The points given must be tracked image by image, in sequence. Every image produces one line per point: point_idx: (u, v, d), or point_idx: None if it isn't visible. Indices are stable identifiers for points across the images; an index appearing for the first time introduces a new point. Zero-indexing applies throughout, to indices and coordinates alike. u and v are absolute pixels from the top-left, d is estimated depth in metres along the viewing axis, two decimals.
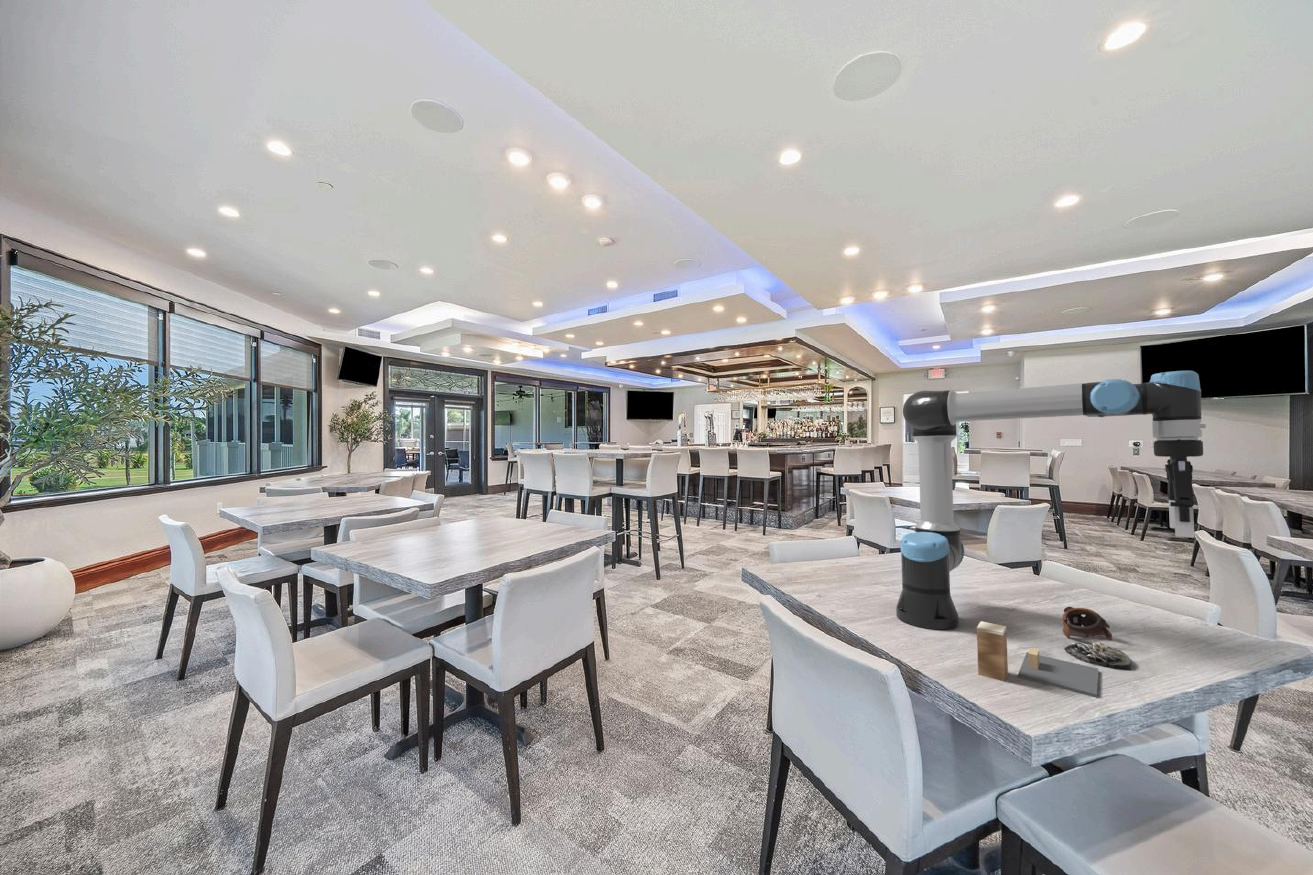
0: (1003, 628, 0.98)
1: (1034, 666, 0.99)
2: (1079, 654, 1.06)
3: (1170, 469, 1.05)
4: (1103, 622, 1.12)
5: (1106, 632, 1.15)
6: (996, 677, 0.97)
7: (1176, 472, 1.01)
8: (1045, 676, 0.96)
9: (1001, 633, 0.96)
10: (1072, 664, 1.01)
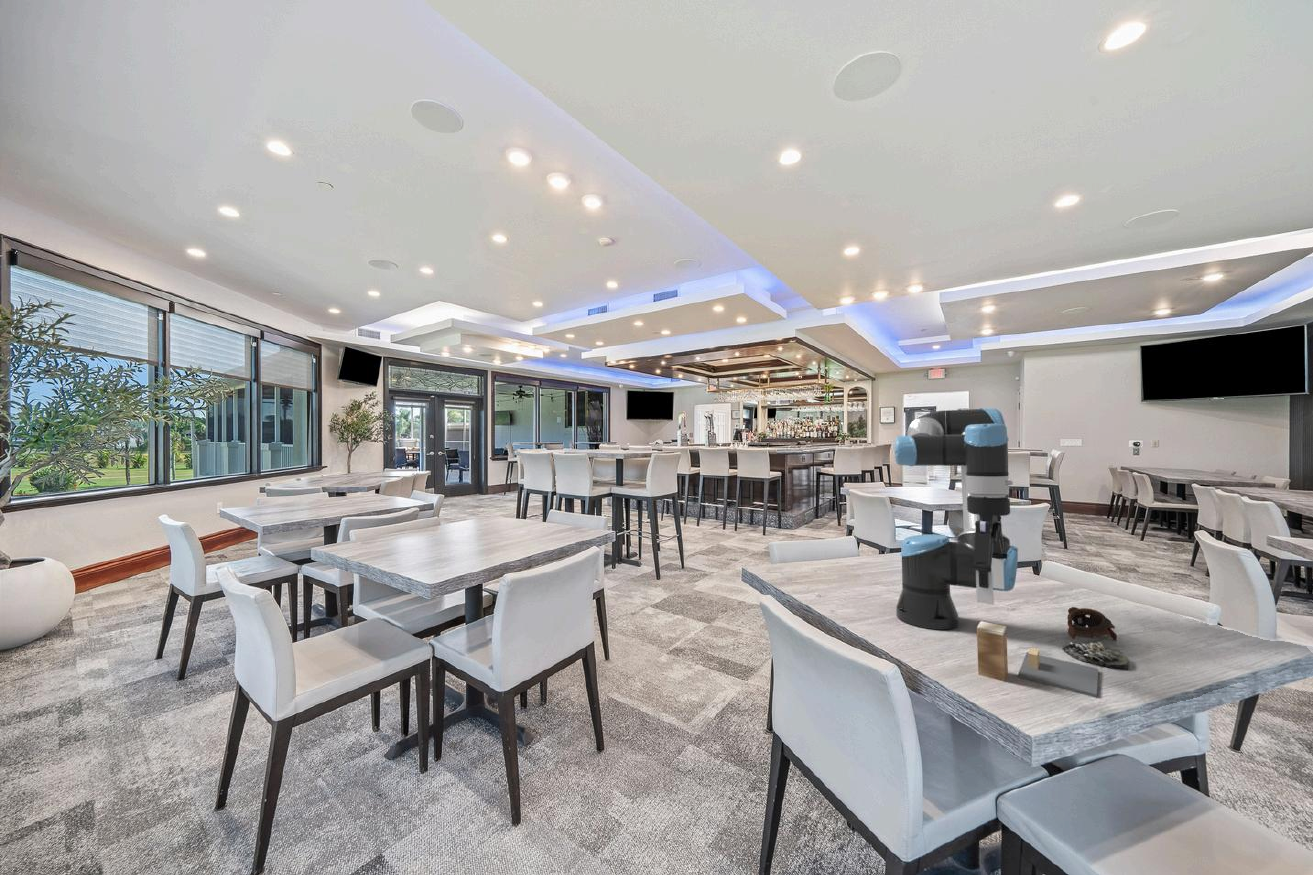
0: (1003, 628, 0.98)
1: (1034, 666, 0.99)
2: (1076, 654, 1.06)
3: None
4: (1108, 623, 1.12)
5: (1111, 633, 1.15)
6: (996, 677, 0.97)
7: (977, 533, 0.95)
8: (1045, 676, 0.96)
9: (1001, 633, 0.96)
10: (1072, 664, 1.01)
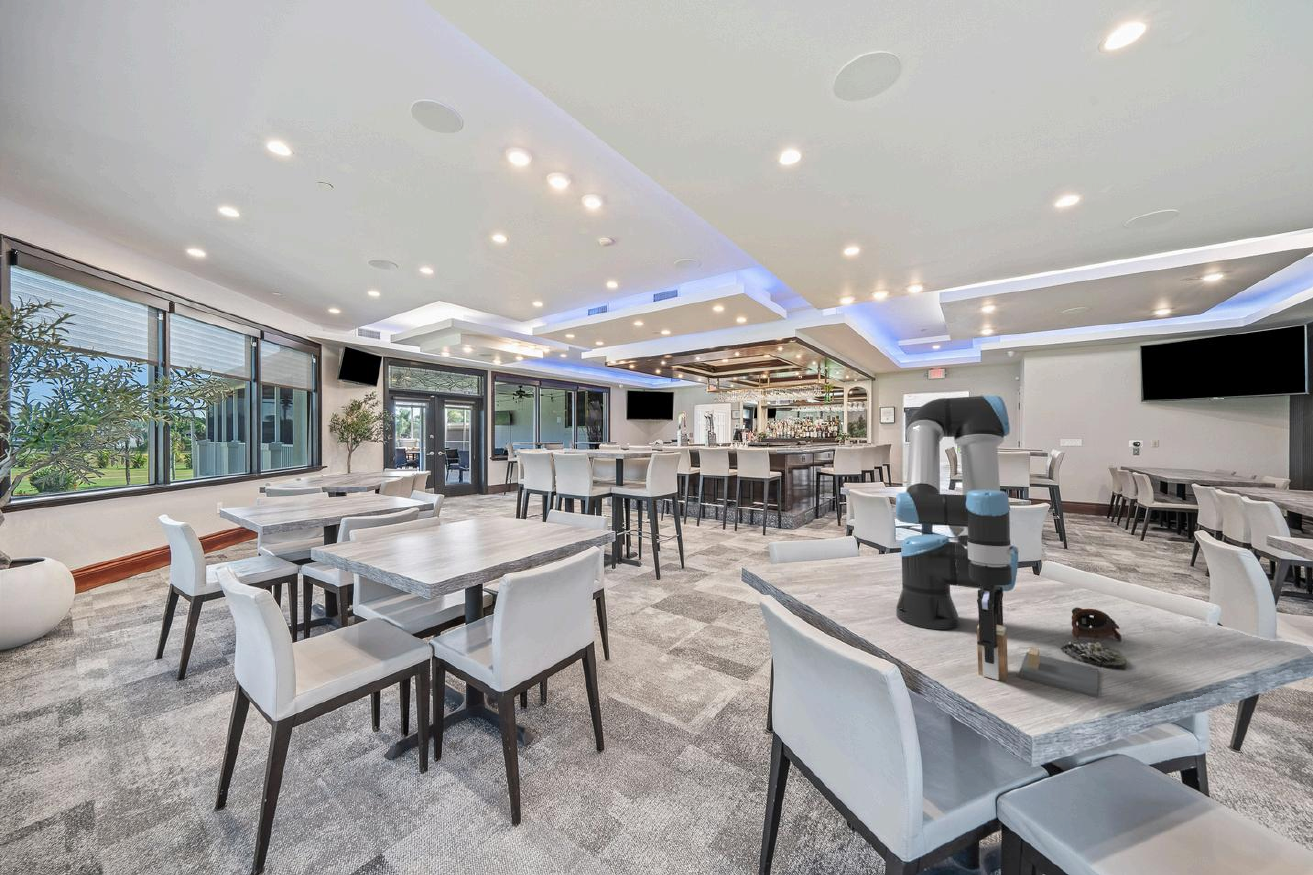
0: (1003, 628, 0.98)
1: (1034, 666, 0.99)
2: (1074, 653, 1.06)
3: (980, 598, 0.99)
4: (1113, 623, 1.12)
5: (1115, 633, 1.14)
6: None
7: (980, 610, 0.95)
8: (1045, 676, 0.96)
9: (1001, 633, 0.96)
10: (1072, 664, 1.01)
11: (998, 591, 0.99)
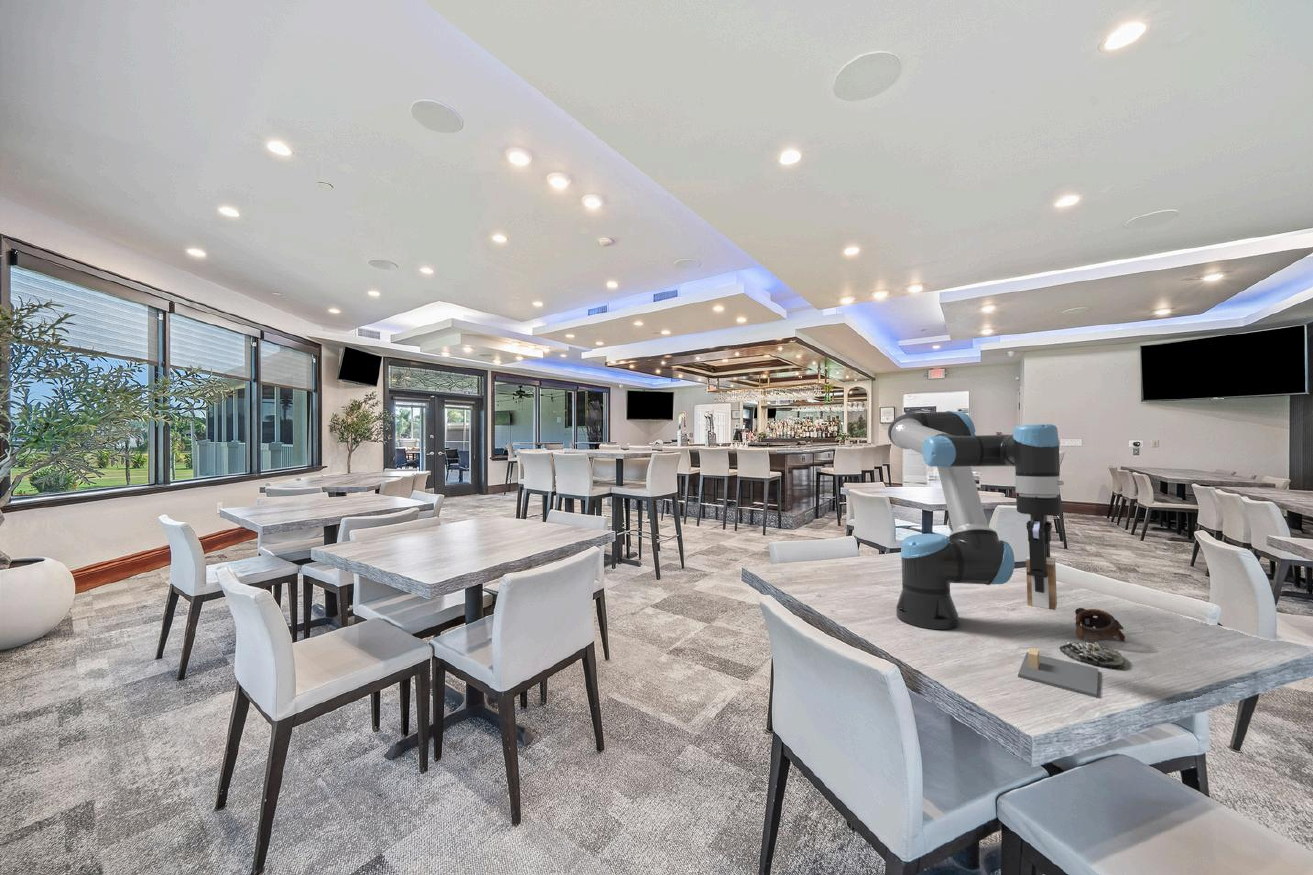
0: (1052, 559, 0.99)
1: (1034, 666, 0.99)
2: (1072, 653, 1.06)
3: None
4: (1117, 623, 1.11)
5: (1119, 633, 1.14)
6: None
7: (1030, 540, 0.97)
8: (1045, 676, 0.96)
9: (1051, 563, 0.97)
10: (1072, 664, 1.01)
11: (1047, 523, 1.00)
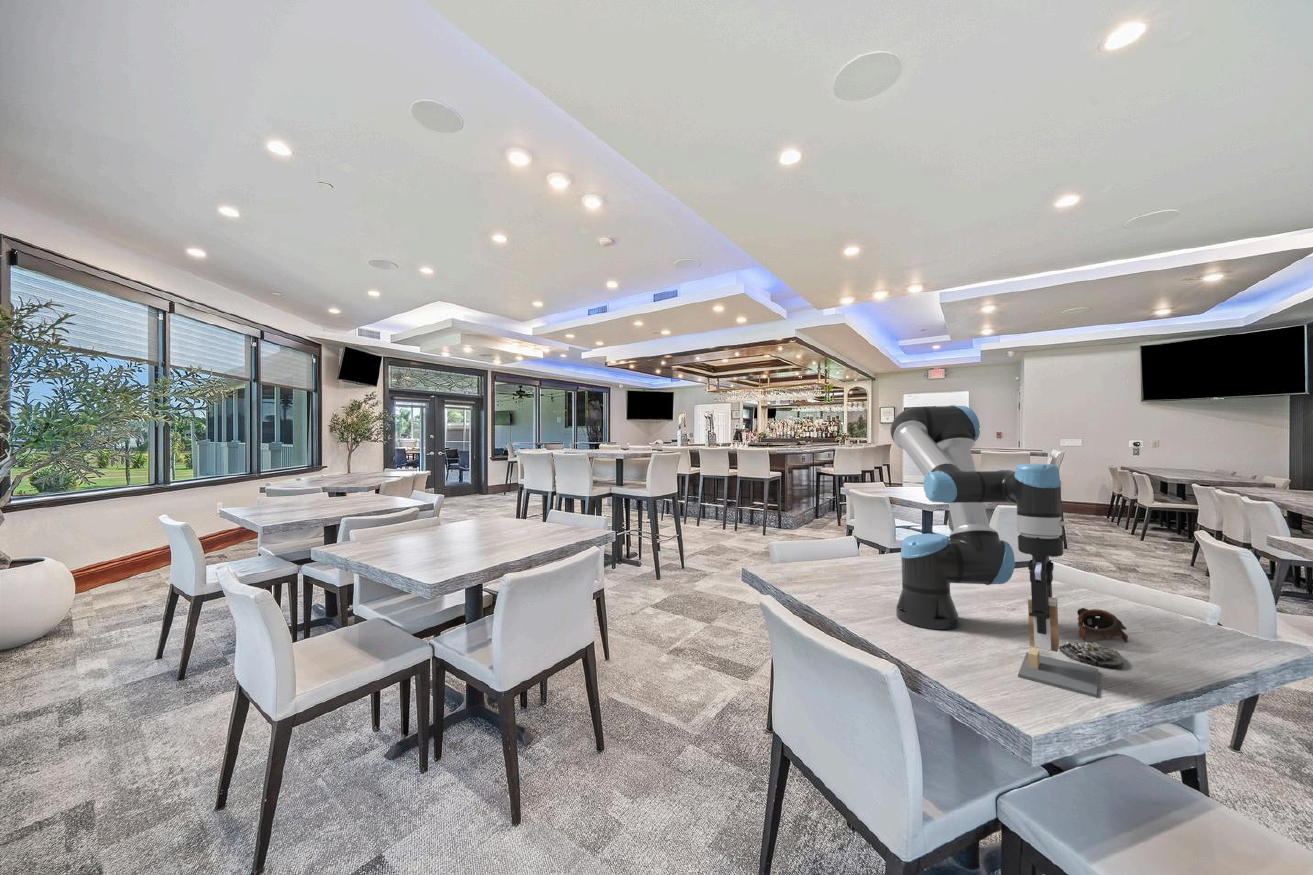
0: (1054, 600, 0.99)
1: (1034, 666, 0.99)
2: (1071, 653, 1.06)
3: None
4: (1120, 624, 1.11)
5: (1121, 634, 1.14)
6: None
7: (1032, 581, 0.97)
8: (1045, 676, 0.96)
9: (1054, 604, 0.97)
10: (1072, 664, 1.01)
11: (1049, 563, 1.00)
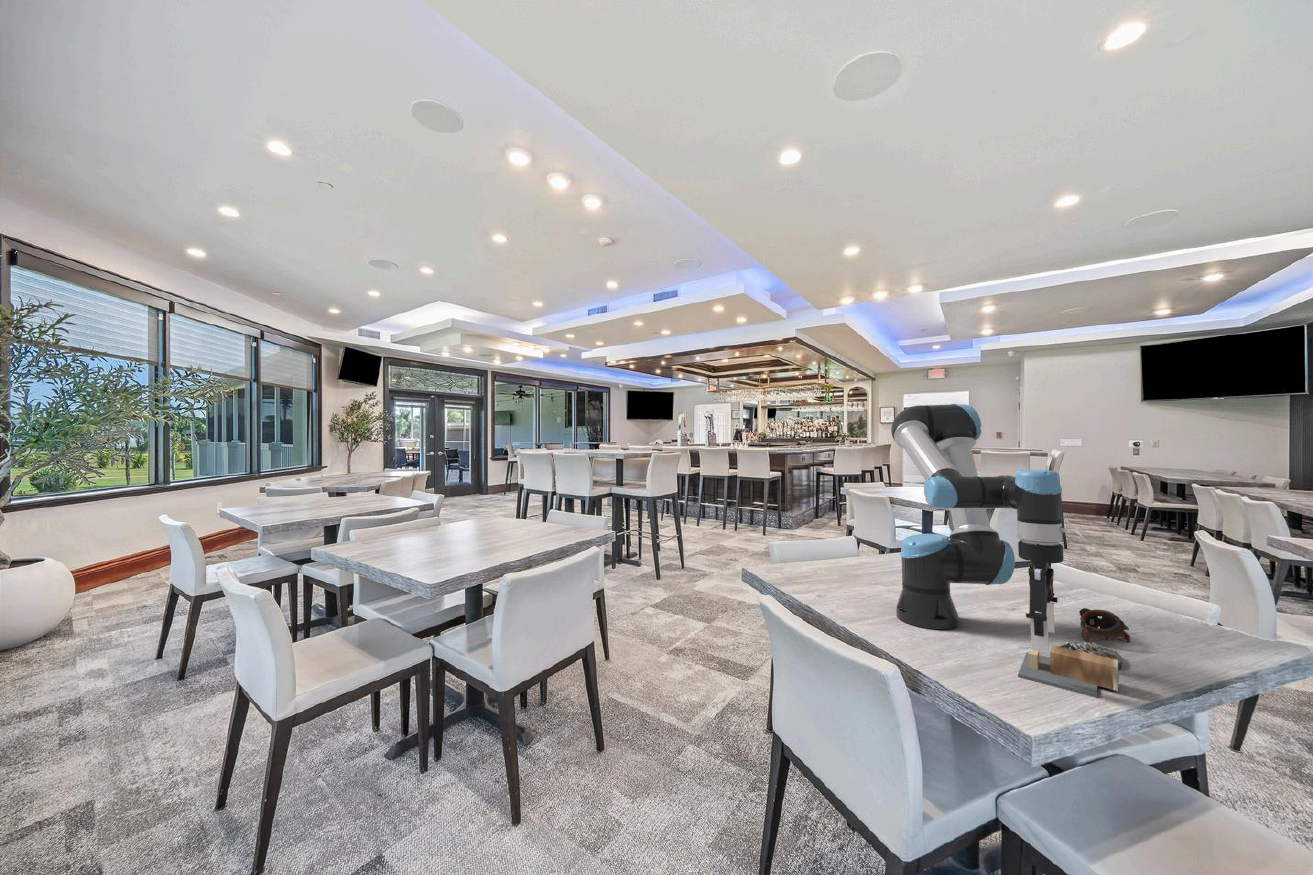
0: (1118, 684, 0.92)
1: (1034, 666, 0.99)
2: None
3: None
4: (1122, 624, 1.11)
5: (1124, 634, 1.14)
6: (1052, 667, 0.97)
7: (1031, 581, 0.96)
8: (1045, 676, 0.96)
9: (1115, 689, 0.90)
10: None
11: (1049, 569, 1.00)
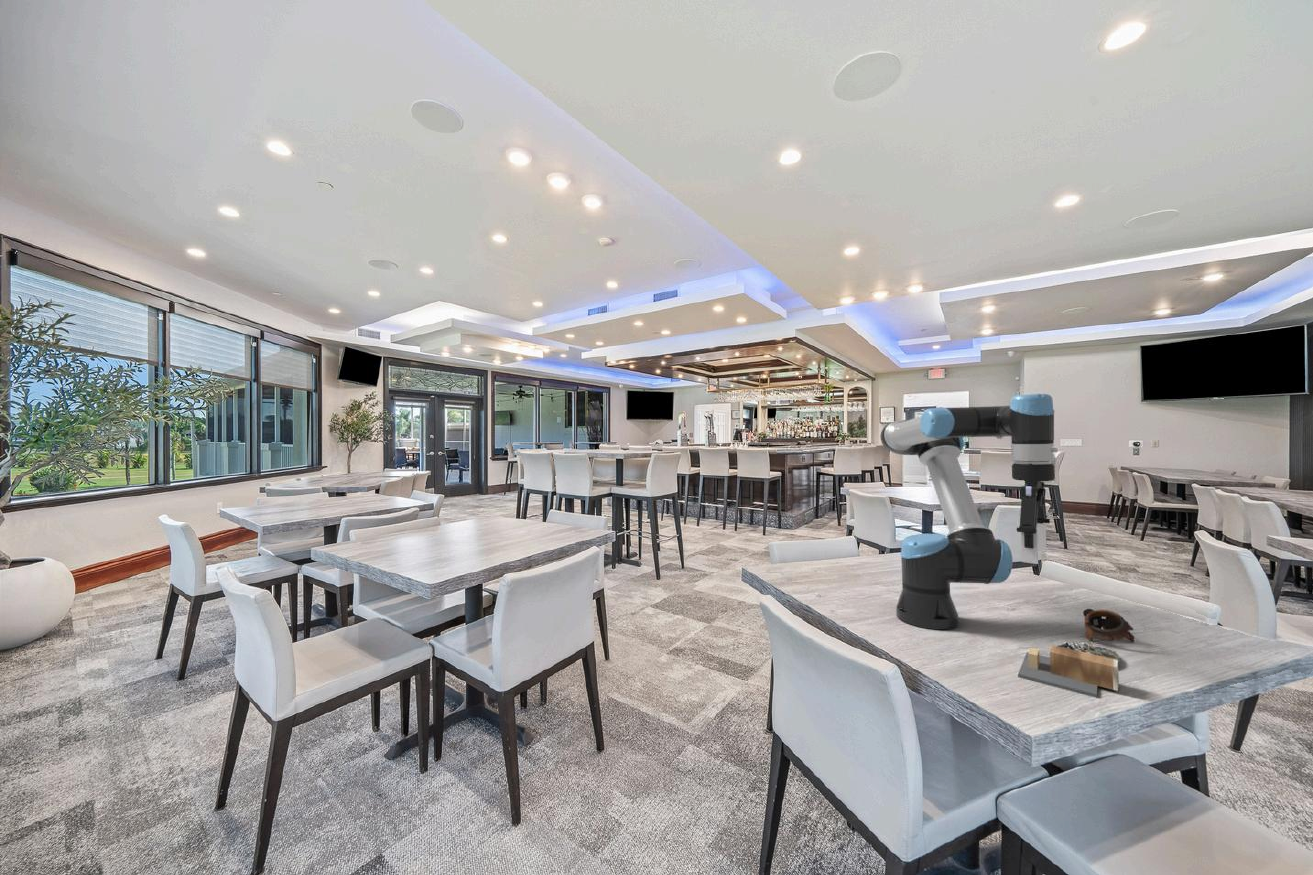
0: (1118, 684, 0.92)
1: (1034, 666, 0.99)
2: None
3: None
4: (1127, 624, 1.11)
5: None
6: (1052, 667, 0.97)
7: (1023, 497, 1.00)
8: (1045, 676, 0.96)
9: (1115, 689, 0.90)
10: None
11: (1041, 489, 1.04)
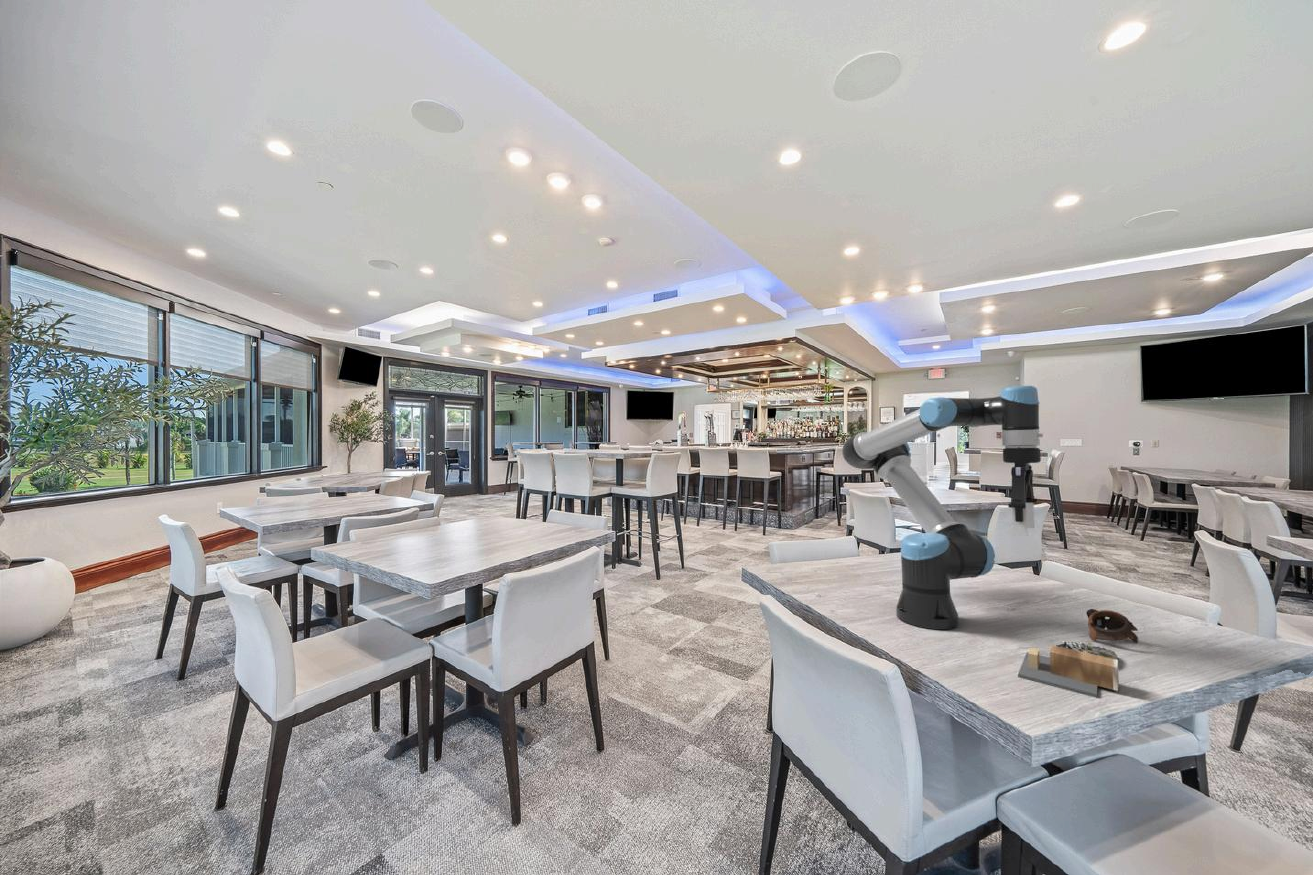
0: (1118, 684, 0.92)
1: (1034, 666, 0.99)
2: None
3: None
4: (1131, 625, 1.10)
5: (1131, 635, 1.13)
6: (1052, 667, 0.97)
7: (1013, 477, 1.13)
8: (1045, 676, 0.96)
9: (1115, 689, 0.90)
10: None
11: None
